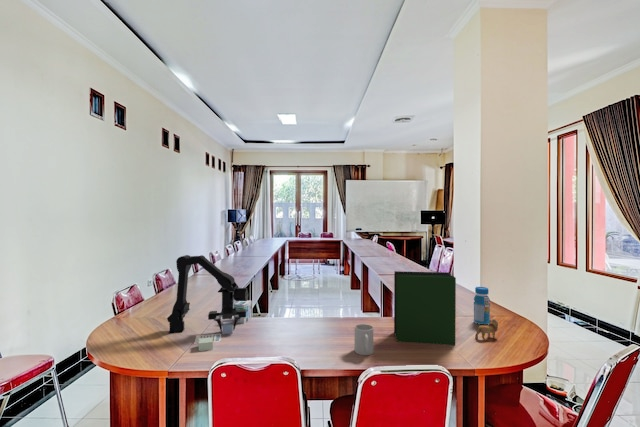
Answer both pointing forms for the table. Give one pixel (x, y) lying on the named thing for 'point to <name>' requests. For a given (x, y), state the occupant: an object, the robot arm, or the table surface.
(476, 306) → the beverage bottle
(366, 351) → the mug
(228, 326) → the slate-blue cube
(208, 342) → the sage block
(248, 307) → the light bulb box
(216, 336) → the letter
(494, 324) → the lion figurine
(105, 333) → the table surface
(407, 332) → the binder
